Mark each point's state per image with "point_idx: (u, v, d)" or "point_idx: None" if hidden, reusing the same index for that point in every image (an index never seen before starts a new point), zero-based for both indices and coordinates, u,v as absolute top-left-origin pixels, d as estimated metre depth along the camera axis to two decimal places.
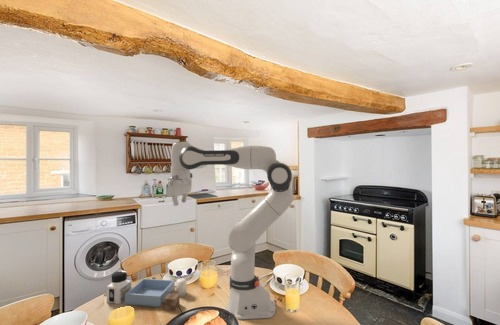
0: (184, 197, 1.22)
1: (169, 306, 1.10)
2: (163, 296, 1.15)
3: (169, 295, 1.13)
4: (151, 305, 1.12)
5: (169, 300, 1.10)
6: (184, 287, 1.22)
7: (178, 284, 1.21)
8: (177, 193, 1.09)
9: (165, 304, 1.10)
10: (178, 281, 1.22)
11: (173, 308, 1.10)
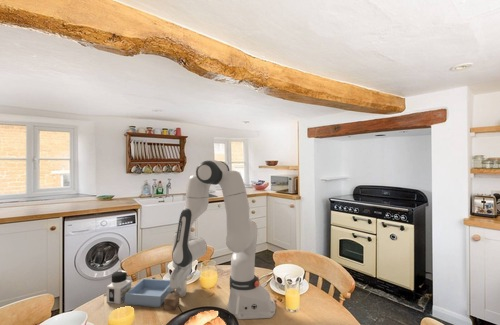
0: None
1: (169, 306, 1.10)
2: (163, 296, 1.15)
3: (169, 295, 1.13)
4: (151, 305, 1.12)
5: (169, 300, 1.10)
6: (184, 287, 1.22)
7: None
8: (179, 284, 1.16)
9: (165, 304, 1.10)
10: None
11: (173, 308, 1.10)
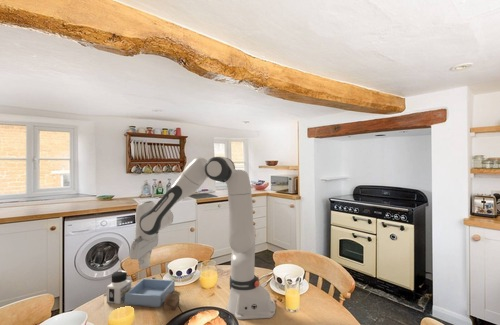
0: None
1: (169, 306, 1.10)
2: (163, 296, 1.15)
3: (169, 295, 1.13)
4: (151, 305, 1.12)
5: (169, 300, 1.10)
6: (147, 259, 1.20)
7: None
8: (139, 255, 1.14)
9: (165, 304, 1.10)
10: None
11: (173, 308, 1.10)
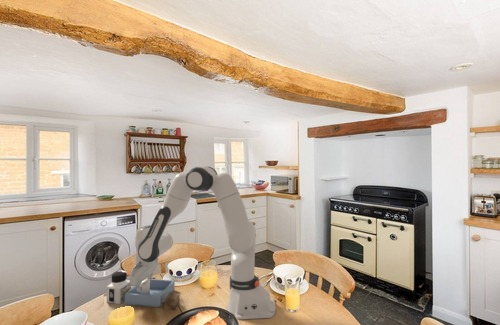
0: (150, 276, 1.26)
1: (169, 306, 1.10)
2: (163, 296, 1.15)
3: (169, 295, 1.13)
4: (151, 305, 1.12)
5: (169, 300, 1.10)
6: (147, 288, 1.20)
7: (140, 285, 1.19)
8: (139, 281, 1.14)
9: (165, 304, 1.10)
10: None
11: (173, 308, 1.10)
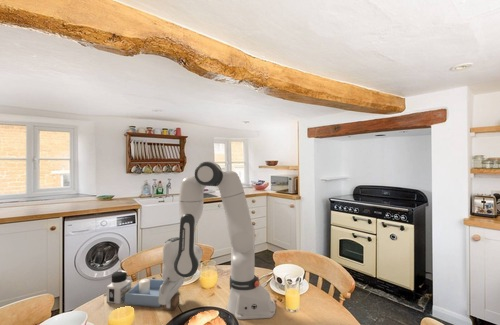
0: None
1: None
2: None
3: None
4: (151, 305, 1.12)
5: None
6: (147, 288, 1.20)
7: (140, 285, 1.19)
8: (168, 299, 1.05)
9: None
10: (140, 282, 1.20)
11: (173, 308, 1.10)
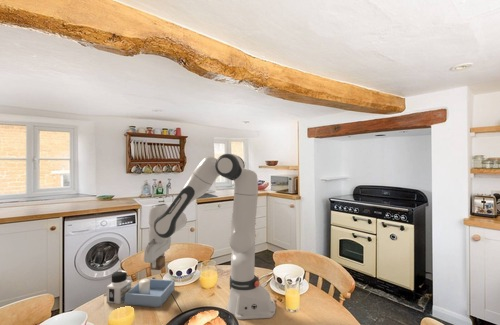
0: None
1: None
2: (163, 296, 1.15)
3: None
4: (151, 305, 1.12)
5: None
6: (147, 288, 1.20)
7: (140, 285, 1.19)
8: (153, 258, 1.13)
9: (151, 264, 1.18)
10: (140, 282, 1.20)
11: (158, 268, 1.18)
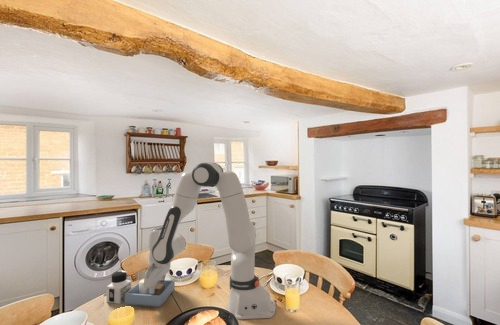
0: (163, 278, 1.25)
1: None
2: (163, 296, 1.15)
3: (155, 285, 1.21)
4: (151, 305, 1.12)
5: (155, 289, 1.18)
6: (147, 288, 1.20)
7: (140, 285, 1.19)
8: (153, 283, 1.13)
9: None
10: (140, 282, 1.20)
11: None
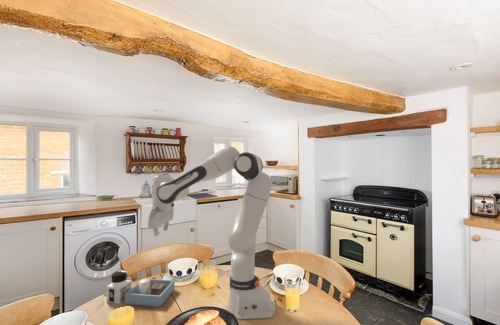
0: (166, 225, 1.29)
1: None
2: (163, 296, 1.15)
3: (155, 285, 1.21)
4: (151, 305, 1.12)
5: (155, 289, 1.18)
6: (147, 288, 1.20)
7: (140, 285, 1.19)
8: (157, 224, 1.16)
9: (151, 293, 1.18)
10: (140, 282, 1.20)
11: None
